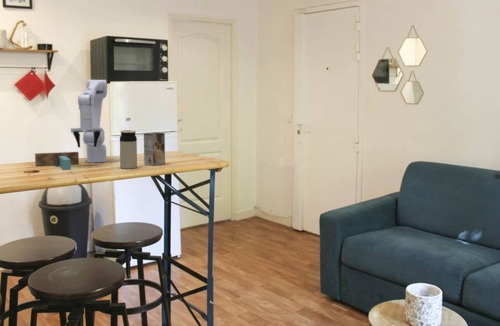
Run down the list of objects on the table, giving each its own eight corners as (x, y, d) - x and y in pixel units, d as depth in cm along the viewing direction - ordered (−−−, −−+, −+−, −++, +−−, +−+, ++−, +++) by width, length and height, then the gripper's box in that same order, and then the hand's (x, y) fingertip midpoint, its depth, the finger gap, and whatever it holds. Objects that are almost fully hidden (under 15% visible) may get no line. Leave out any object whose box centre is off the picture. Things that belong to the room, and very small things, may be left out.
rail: (65, 165, 255) (65, 155, 254) (70, 170, 242) (70, 159, 242) (59, 165, 254) (58, 155, 253) (63, 170, 241) (63, 159, 240)
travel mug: (120, 169, 246) (119, 131, 244) (120, 166, 254) (119, 130, 251) (137, 168, 248) (137, 131, 246) (136, 166, 256) (136, 130, 253)
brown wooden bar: (77, 163, 261) (77, 151, 260) (80, 165, 255) (79, 153, 255) (35, 165, 252) (34, 153, 251) (36, 167, 246) (36, 155, 245)
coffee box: (156, 162, 269) (155, 132, 267) (165, 164, 266) (165, 132, 263) (143, 164, 261) (143, 133, 259) (153, 166, 258) (152, 134, 256)
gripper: (72, 119, 244) (73, 148, 246) (103, 119, 251) (103, 147, 253) (69, 118, 250) (70, 146, 252) (100, 118, 257) (100, 145, 259)
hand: (87, 146), depth 253 cm, fingers open, 7 cm apart
